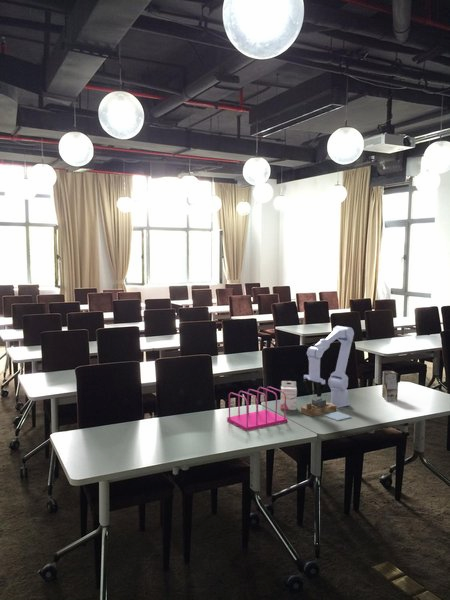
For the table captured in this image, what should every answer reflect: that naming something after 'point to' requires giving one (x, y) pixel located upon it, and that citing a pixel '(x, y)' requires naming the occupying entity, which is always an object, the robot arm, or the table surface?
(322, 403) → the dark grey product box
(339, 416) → the rubber mat
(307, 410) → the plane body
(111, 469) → the table surface
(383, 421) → the table surface
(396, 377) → the coffee box
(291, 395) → the ink cartridge box
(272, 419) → the file sorter
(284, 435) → the table surface
